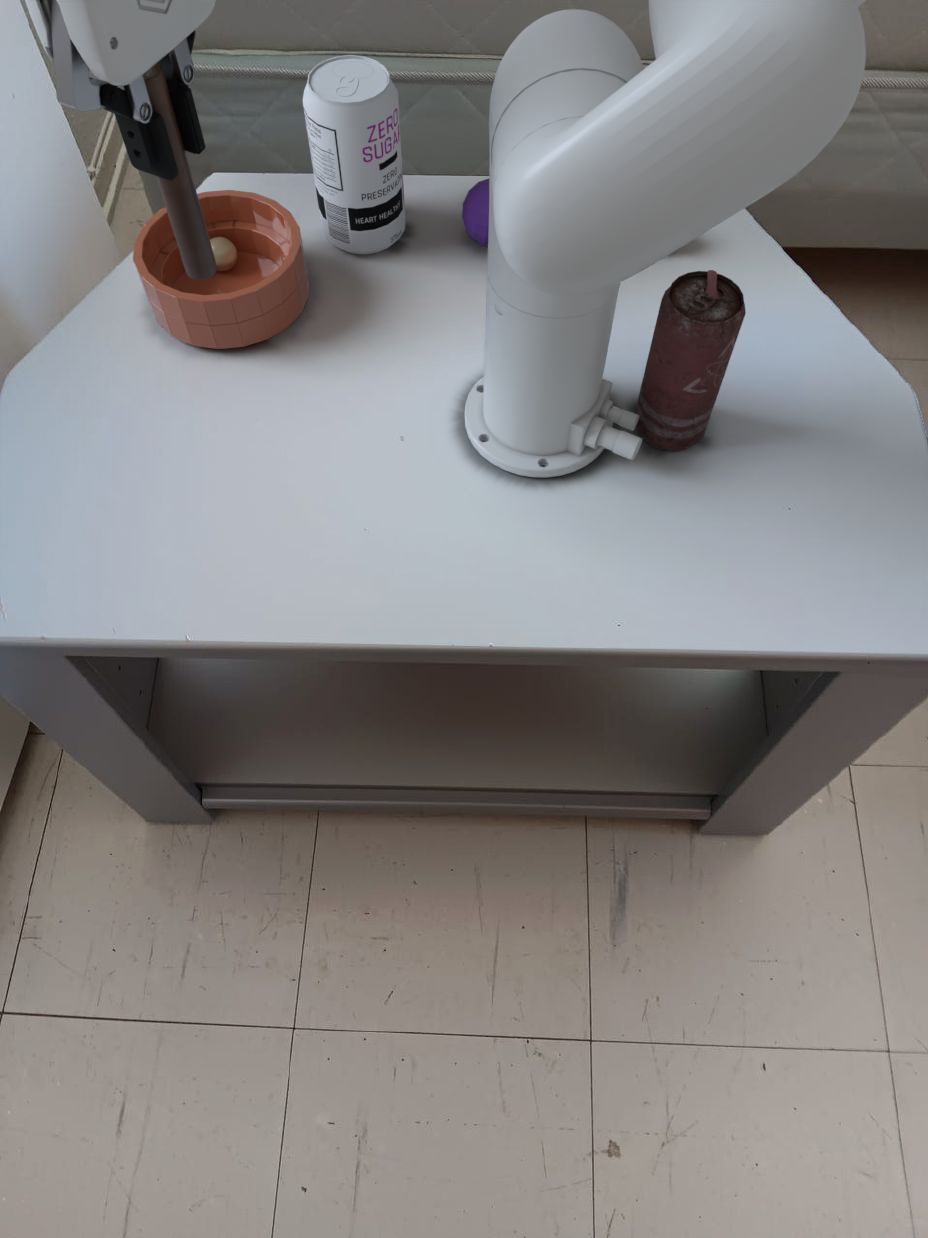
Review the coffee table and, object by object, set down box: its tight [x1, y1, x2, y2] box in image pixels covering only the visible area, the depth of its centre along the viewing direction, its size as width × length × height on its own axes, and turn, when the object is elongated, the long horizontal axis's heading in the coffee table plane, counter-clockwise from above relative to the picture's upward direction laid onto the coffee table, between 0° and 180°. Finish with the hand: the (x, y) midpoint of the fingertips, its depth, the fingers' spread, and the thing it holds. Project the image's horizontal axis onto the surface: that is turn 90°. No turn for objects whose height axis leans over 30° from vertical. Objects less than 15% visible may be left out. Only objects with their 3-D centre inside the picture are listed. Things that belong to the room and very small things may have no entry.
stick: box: [143, 62, 217, 280], centre depth 59 cm, size 2×2×14 cm
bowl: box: [132, 189, 310, 350], centre depth 83 cm, size 15×15×6 cm
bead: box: [210, 237, 237, 271], centre depth 86 cm, size 3×3×3 cm
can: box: [634, 269, 747, 452], centre depth 72 cm, size 6×6×14 cm
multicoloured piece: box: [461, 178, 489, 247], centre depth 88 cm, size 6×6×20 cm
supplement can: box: [302, 54, 407, 255], centre depth 84 cm, size 8×8×15 cm
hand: (169, 156), depth 58 cm, fingers closed on stick, 2 cm apart
